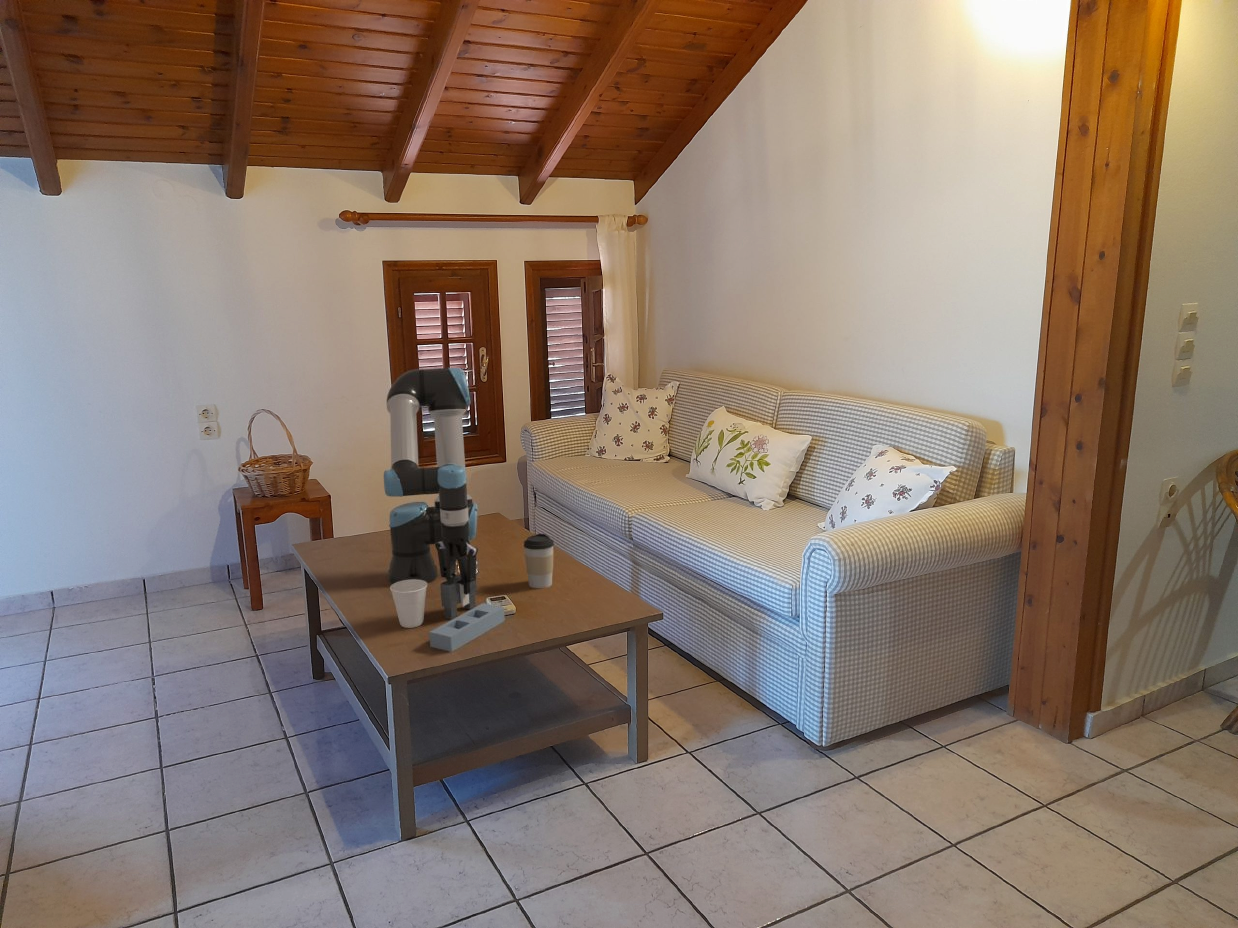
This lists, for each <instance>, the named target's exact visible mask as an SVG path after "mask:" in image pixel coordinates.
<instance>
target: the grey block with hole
mask: <svg viewBox="0 0 1238 928" xmlns="http://www.w3.org/2000/svg"><path fill="white" fill-rule="evenodd" d="M505 621H506V619H505V607H504V606H500V605H496V604H490V603H486V602H483V603H480V604H479V605H477V606H475V607H473V608H471V609H468V610H467V611H466V612H464V613H462V614H460V615H457V617H455V618H453V619H450V620H449V621H447V622H445V623H443V624H441V625H439V626H437V627H436V628H434V629H432V630H430V631H429V632H428V633H429V643H430V645H429V646H430V647H431V648H435V649H438V650H442V651H448V652H450V653H452V652H454V651H456V650H457V649H459V648H461V647H463V646H464V645H466V644H467V643H470V642H471V641H474V640H475V639H476V638H479V637H480V636H482V635H484V634H485V633H487V632H488V631H490V630H492V629H493V628H495V627H498V626H499V625H500V624H502V623H504V622H505Z"/></svg>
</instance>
